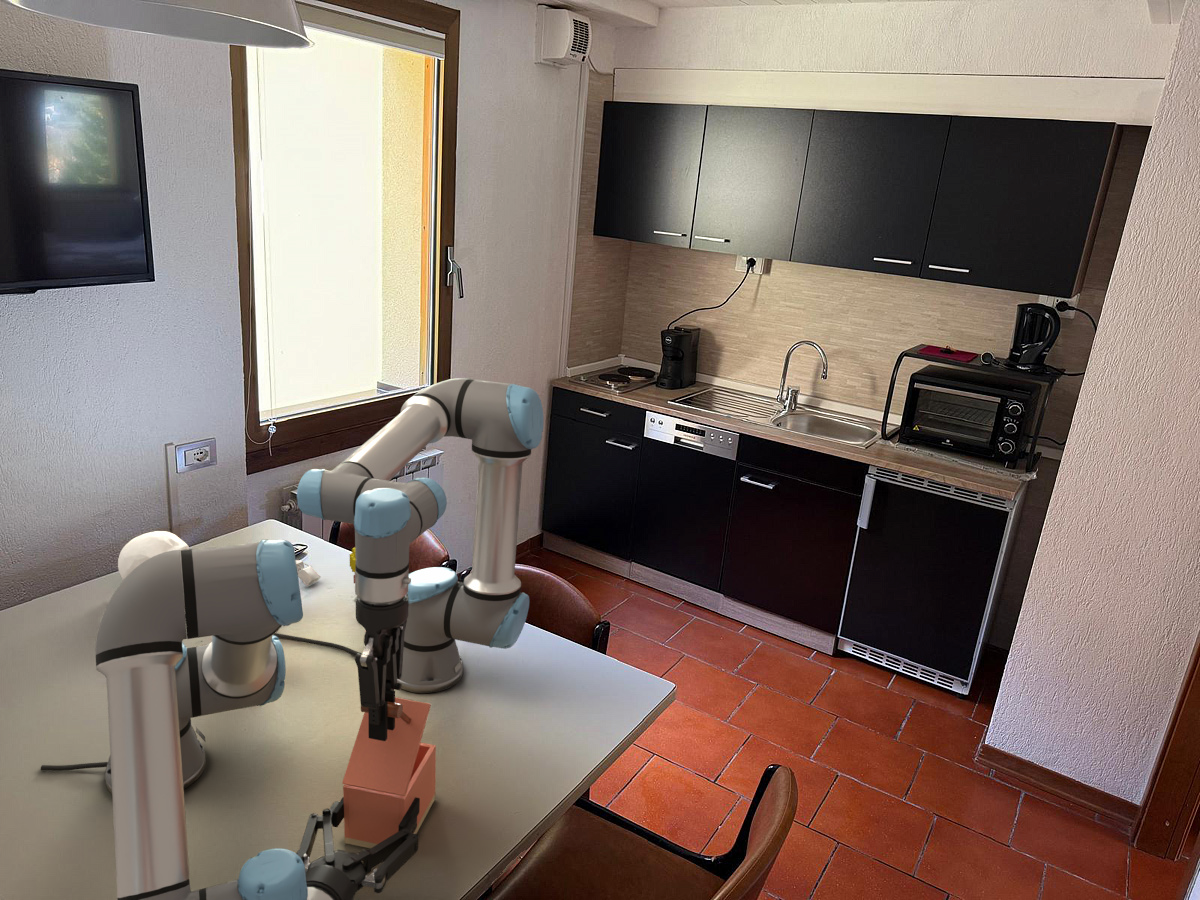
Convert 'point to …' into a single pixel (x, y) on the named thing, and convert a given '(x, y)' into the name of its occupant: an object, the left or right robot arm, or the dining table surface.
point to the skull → (147, 549)
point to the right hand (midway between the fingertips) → (381, 732)
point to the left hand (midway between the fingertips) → (385, 798)
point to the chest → (389, 803)
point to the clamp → (307, 573)
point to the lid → (388, 750)
